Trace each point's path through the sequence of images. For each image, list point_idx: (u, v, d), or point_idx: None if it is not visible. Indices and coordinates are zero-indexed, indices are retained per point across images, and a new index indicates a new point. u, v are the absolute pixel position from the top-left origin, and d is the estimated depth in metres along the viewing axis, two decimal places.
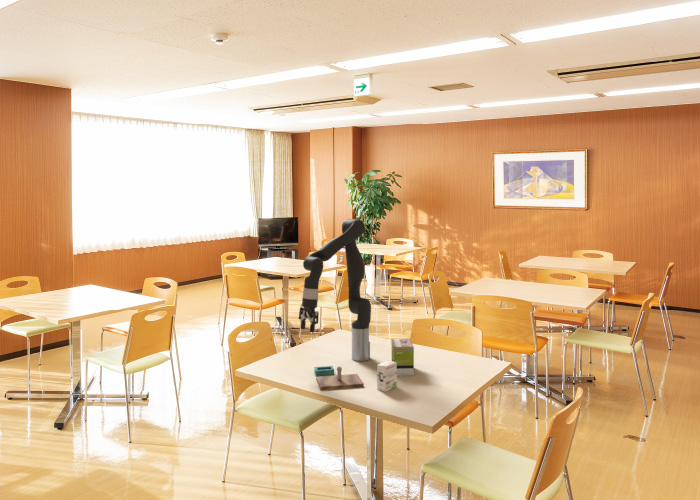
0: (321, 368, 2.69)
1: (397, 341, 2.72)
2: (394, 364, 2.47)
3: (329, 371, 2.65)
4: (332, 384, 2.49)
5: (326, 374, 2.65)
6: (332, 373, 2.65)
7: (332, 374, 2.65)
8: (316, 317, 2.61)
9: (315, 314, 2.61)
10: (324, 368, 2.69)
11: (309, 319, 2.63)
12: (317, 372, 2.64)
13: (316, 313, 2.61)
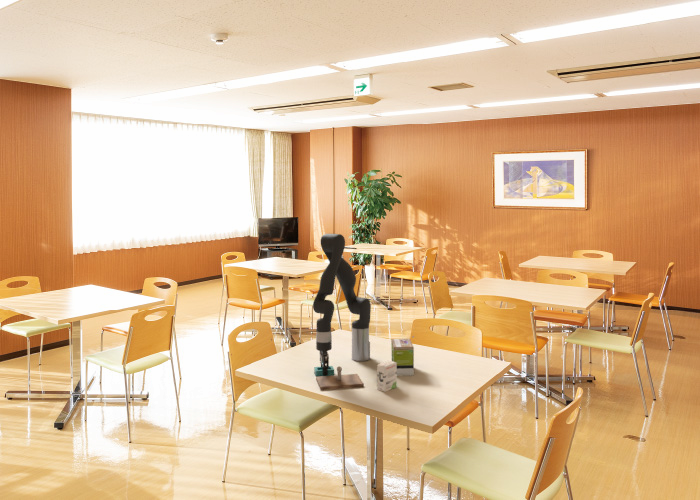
0: (321, 368, 2.69)
1: (397, 341, 2.72)
2: (394, 364, 2.47)
3: (329, 371, 2.65)
4: (332, 384, 2.49)
5: None
6: (332, 373, 2.65)
7: (332, 374, 2.65)
8: (326, 362, 2.60)
9: (325, 359, 2.60)
10: None
11: (321, 362, 2.64)
12: (317, 372, 2.64)
13: (326, 358, 2.60)
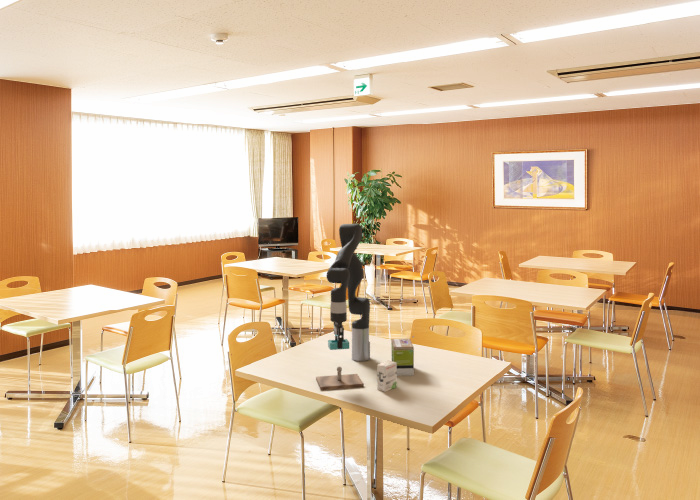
0: (335, 341, 2.54)
1: (397, 341, 2.72)
2: (394, 364, 2.47)
3: (344, 344, 2.50)
4: (332, 384, 2.49)
5: None
6: (347, 346, 2.51)
7: (347, 347, 2.51)
8: (341, 334, 2.46)
9: (339, 331, 2.46)
10: None
11: (336, 335, 2.49)
12: (331, 345, 2.49)
13: (341, 330, 2.46)
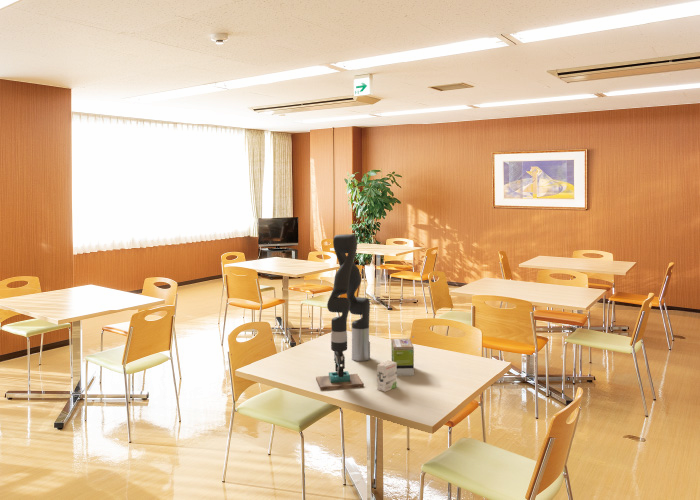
0: (336, 373, 2.56)
1: (397, 341, 2.72)
2: (394, 364, 2.47)
3: (345, 377, 2.52)
4: (332, 384, 2.49)
5: (341, 380, 2.52)
6: (348, 379, 2.52)
7: (348, 380, 2.52)
8: (342, 362, 2.47)
9: (340, 359, 2.47)
10: None
11: (337, 363, 2.50)
12: (332, 378, 2.51)
13: (341, 358, 2.47)
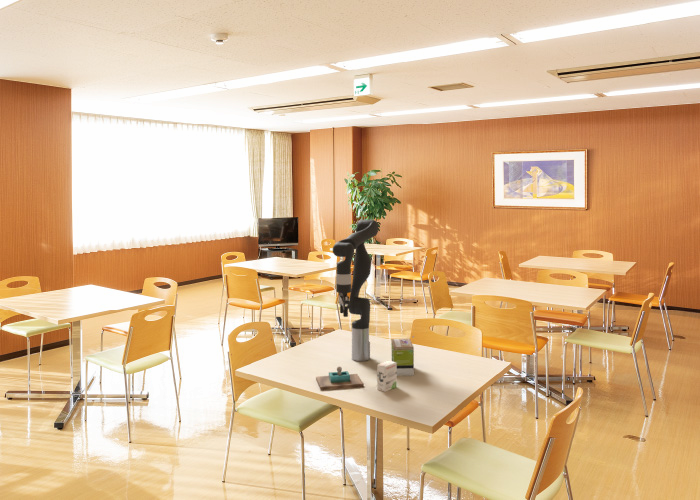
0: (336, 373, 2.56)
1: (397, 341, 2.72)
2: (394, 364, 2.47)
3: (345, 377, 2.52)
4: (332, 384, 2.49)
5: (341, 380, 2.52)
6: (348, 379, 2.52)
7: (348, 380, 2.52)
8: (346, 302, 2.64)
9: (345, 299, 2.64)
10: None
11: (342, 304, 2.67)
12: (332, 378, 2.51)
13: (346, 298, 2.64)
